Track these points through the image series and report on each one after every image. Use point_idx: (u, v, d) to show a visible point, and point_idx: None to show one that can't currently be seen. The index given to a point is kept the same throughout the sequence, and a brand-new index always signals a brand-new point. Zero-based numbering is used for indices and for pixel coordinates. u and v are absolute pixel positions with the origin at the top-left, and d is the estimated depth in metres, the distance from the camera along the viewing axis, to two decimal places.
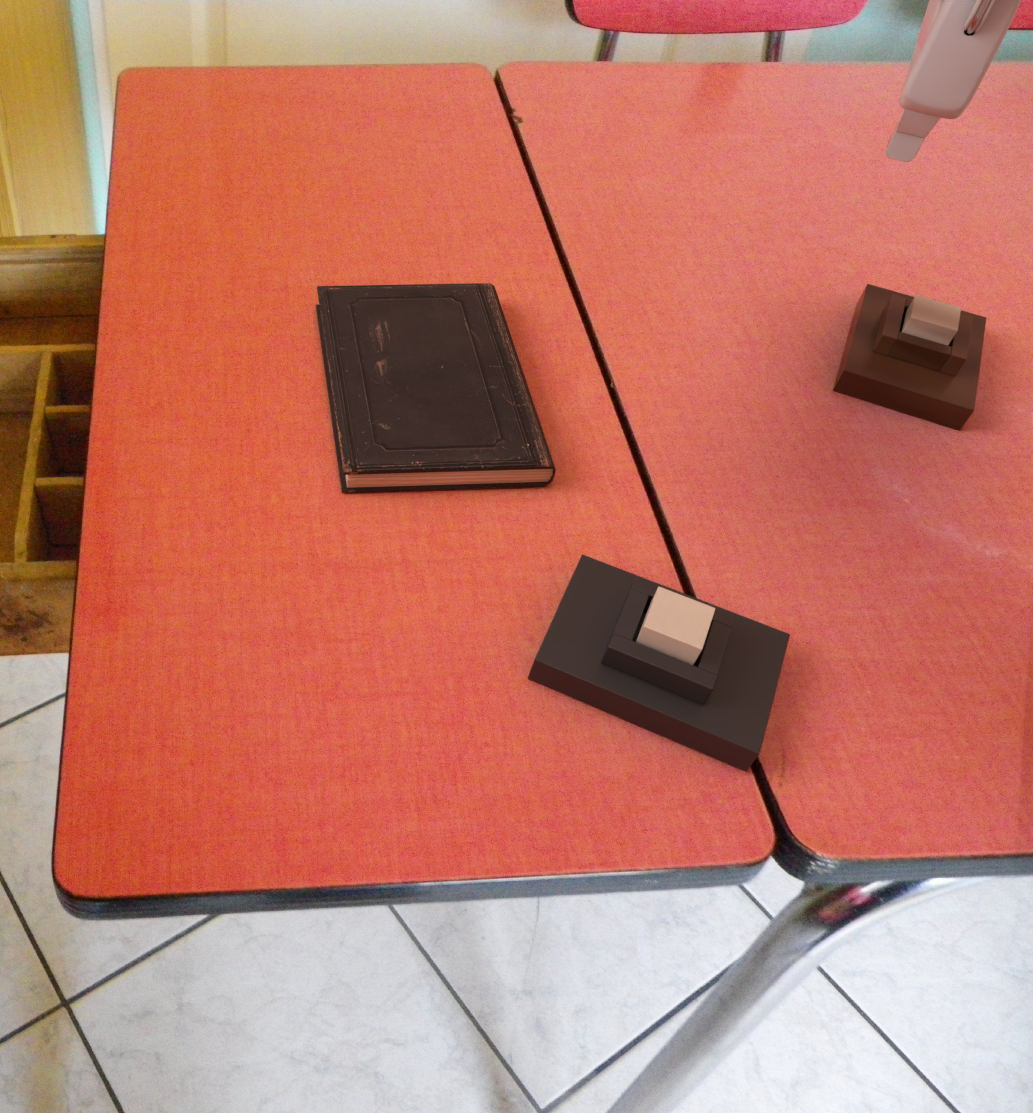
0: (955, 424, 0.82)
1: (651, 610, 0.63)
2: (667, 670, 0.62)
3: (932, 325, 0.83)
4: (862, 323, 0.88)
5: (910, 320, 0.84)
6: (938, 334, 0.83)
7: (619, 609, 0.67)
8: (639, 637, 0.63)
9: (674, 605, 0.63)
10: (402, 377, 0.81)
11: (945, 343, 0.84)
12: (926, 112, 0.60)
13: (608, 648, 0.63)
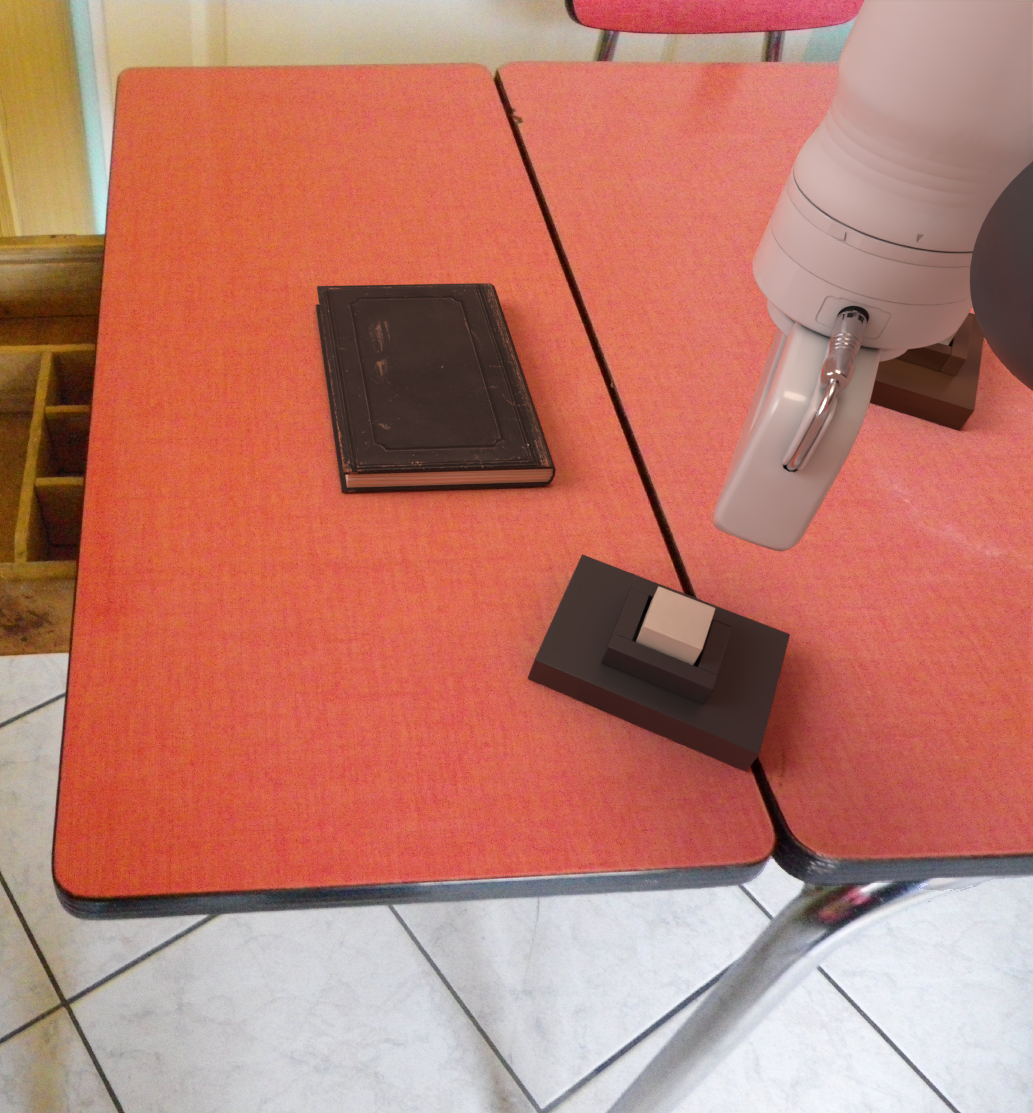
0: (955, 424, 0.82)
1: (651, 610, 0.63)
2: (667, 670, 0.62)
3: None
4: None
5: None
6: None
7: (619, 609, 0.67)
8: (639, 637, 0.63)
9: (674, 605, 0.63)
10: (402, 377, 0.81)
11: (945, 343, 0.84)
12: None
13: (608, 648, 0.63)
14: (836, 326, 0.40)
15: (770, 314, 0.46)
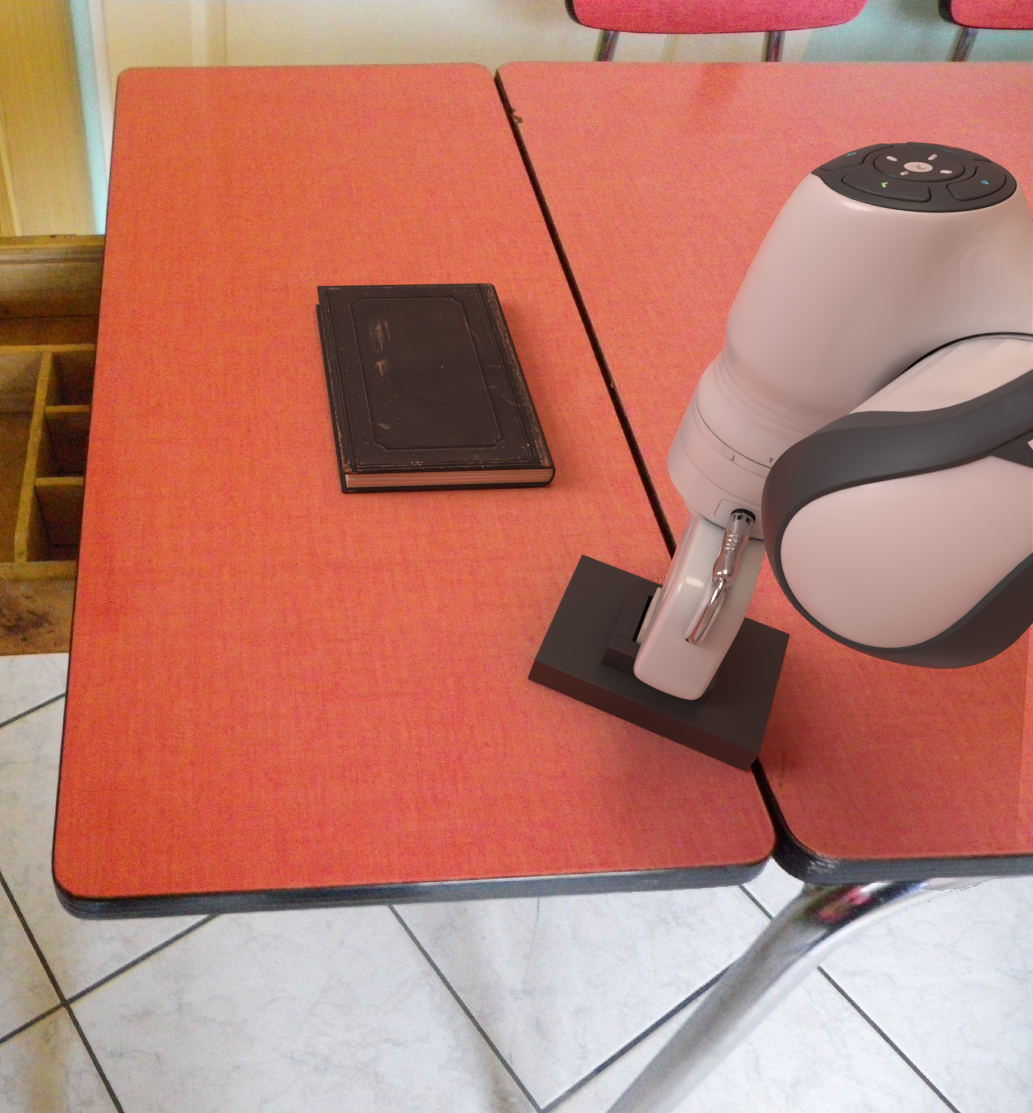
0: None
1: (651, 611, 0.63)
2: None
3: None
4: None
5: None
6: None
7: (619, 609, 0.67)
8: (639, 638, 0.63)
9: None
10: (402, 377, 0.81)
11: None
12: None
13: (608, 648, 0.63)
14: (728, 526, 0.49)
15: None
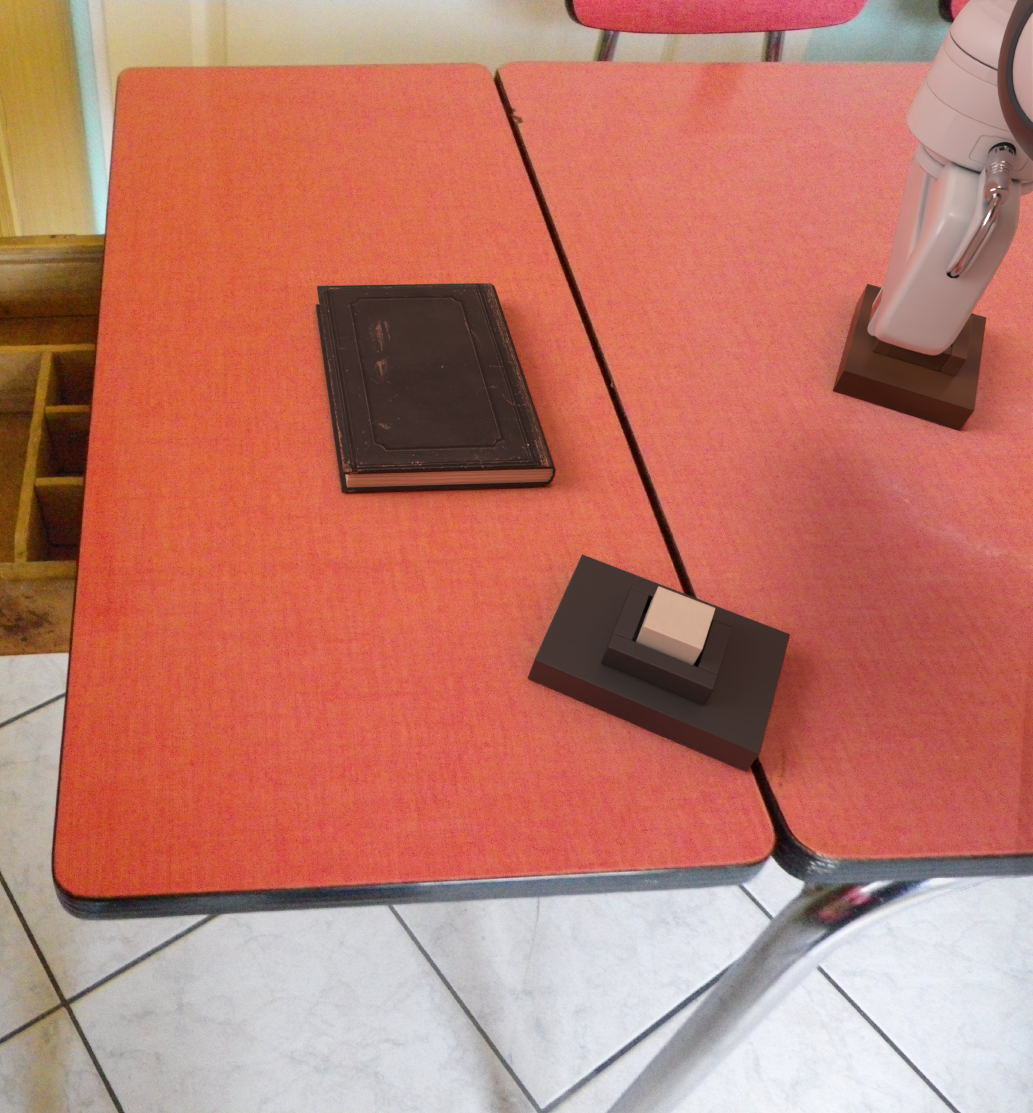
0: (955, 424, 0.82)
1: (651, 610, 0.63)
2: (667, 670, 0.62)
3: None
4: (862, 323, 0.88)
5: None
6: None
7: (619, 609, 0.67)
8: (639, 637, 0.63)
9: (674, 605, 0.63)
10: (402, 376, 0.81)
11: None
12: (905, 347, 0.54)
13: (608, 648, 0.63)
14: (991, 158, 0.50)
15: (920, 163, 0.55)
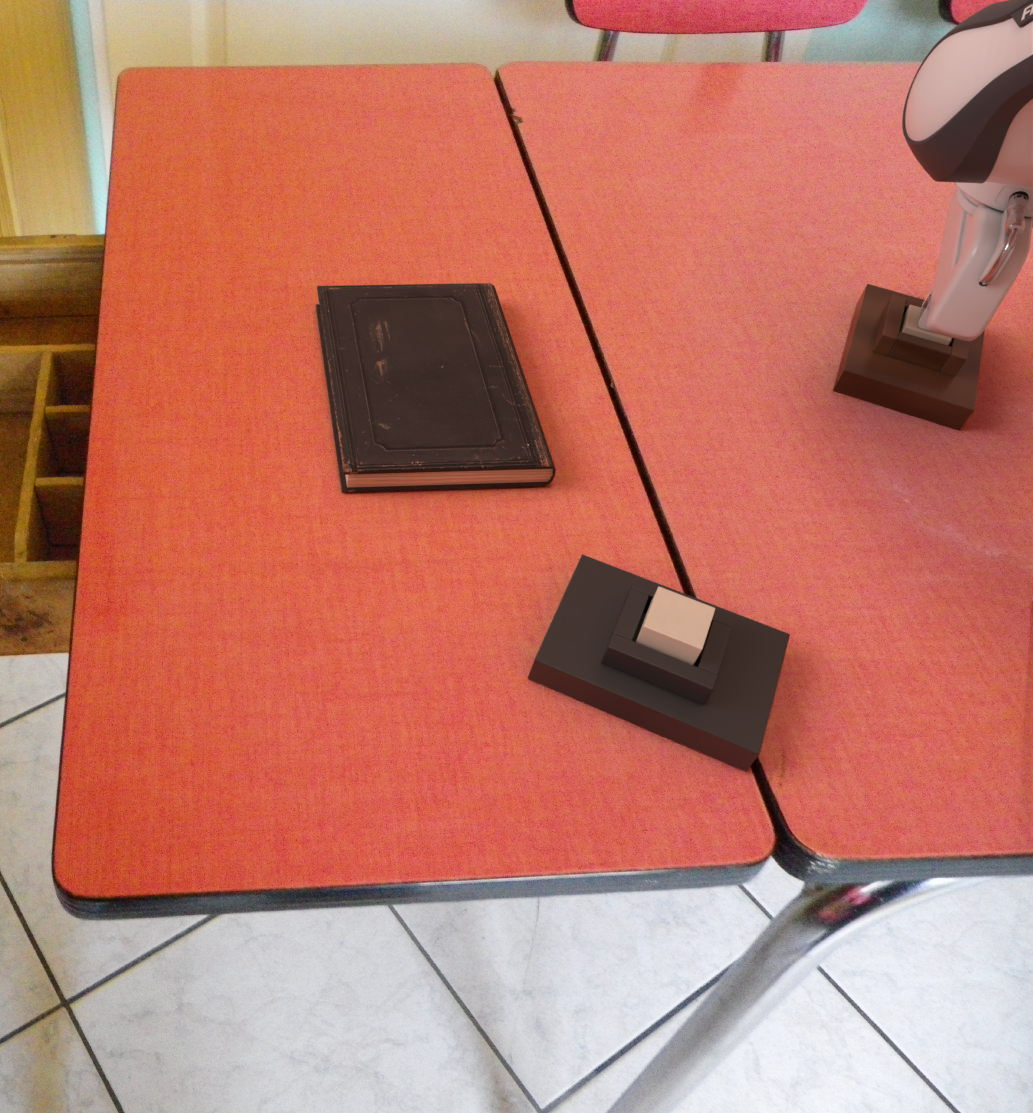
0: (955, 424, 0.82)
1: (651, 610, 0.63)
2: (667, 670, 0.62)
3: (926, 335, 0.84)
4: (862, 323, 0.88)
5: (904, 330, 0.84)
6: None
7: (619, 609, 0.67)
8: (639, 637, 0.63)
9: (674, 605, 0.63)
10: (402, 377, 0.81)
11: None
12: (948, 335, 0.75)
13: (608, 648, 0.63)
14: (1010, 202, 0.71)
15: (959, 203, 0.77)
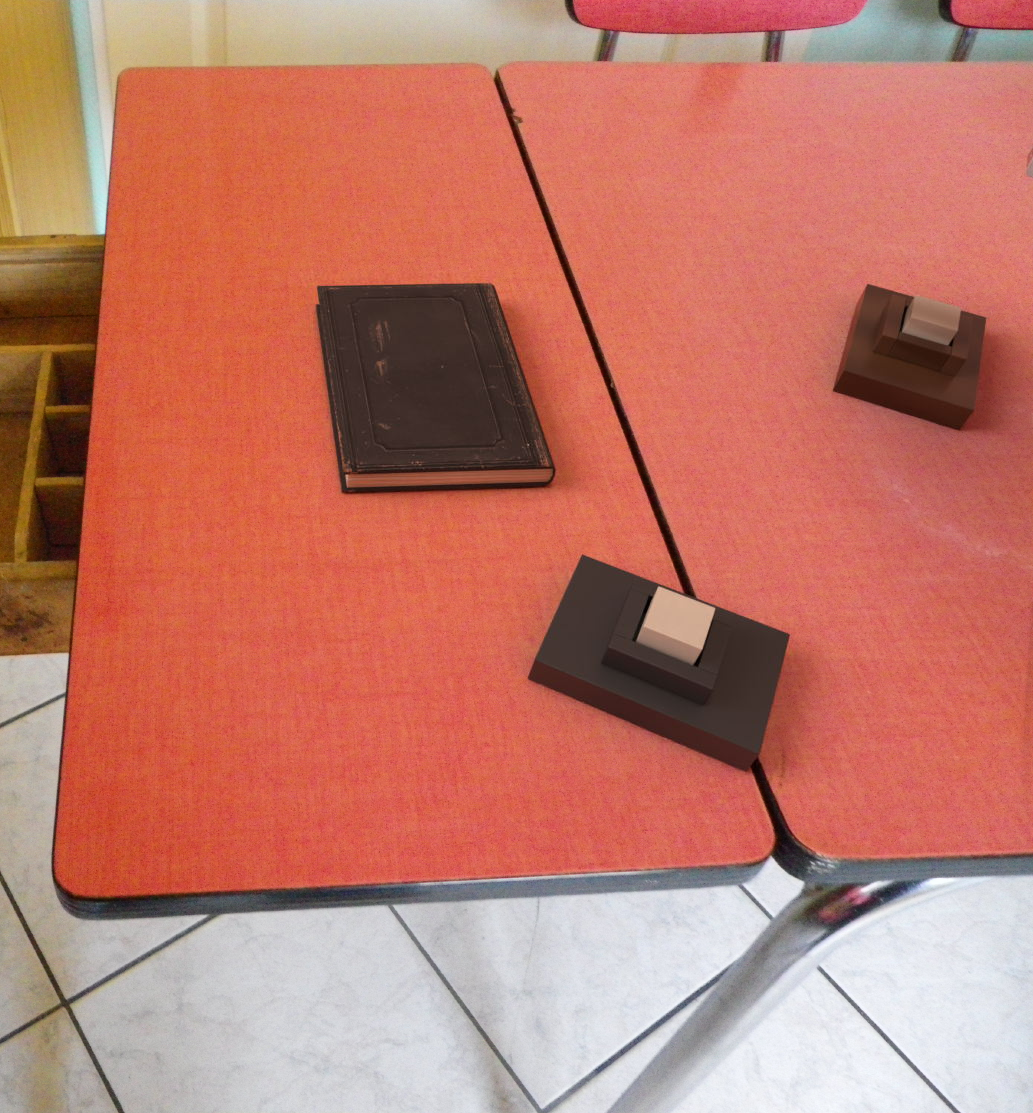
0: (955, 424, 0.82)
1: (651, 610, 0.63)
2: (667, 670, 0.62)
3: (932, 325, 0.83)
4: (862, 323, 0.88)
5: (910, 320, 0.84)
6: (938, 334, 0.83)
7: (619, 609, 0.67)
8: (639, 637, 0.63)
9: (674, 605, 0.63)
10: (402, 376, 0.81)
11: (945, 343, 0.84)
12: None
13: (608, 648, 0.63)
14: None
15: None
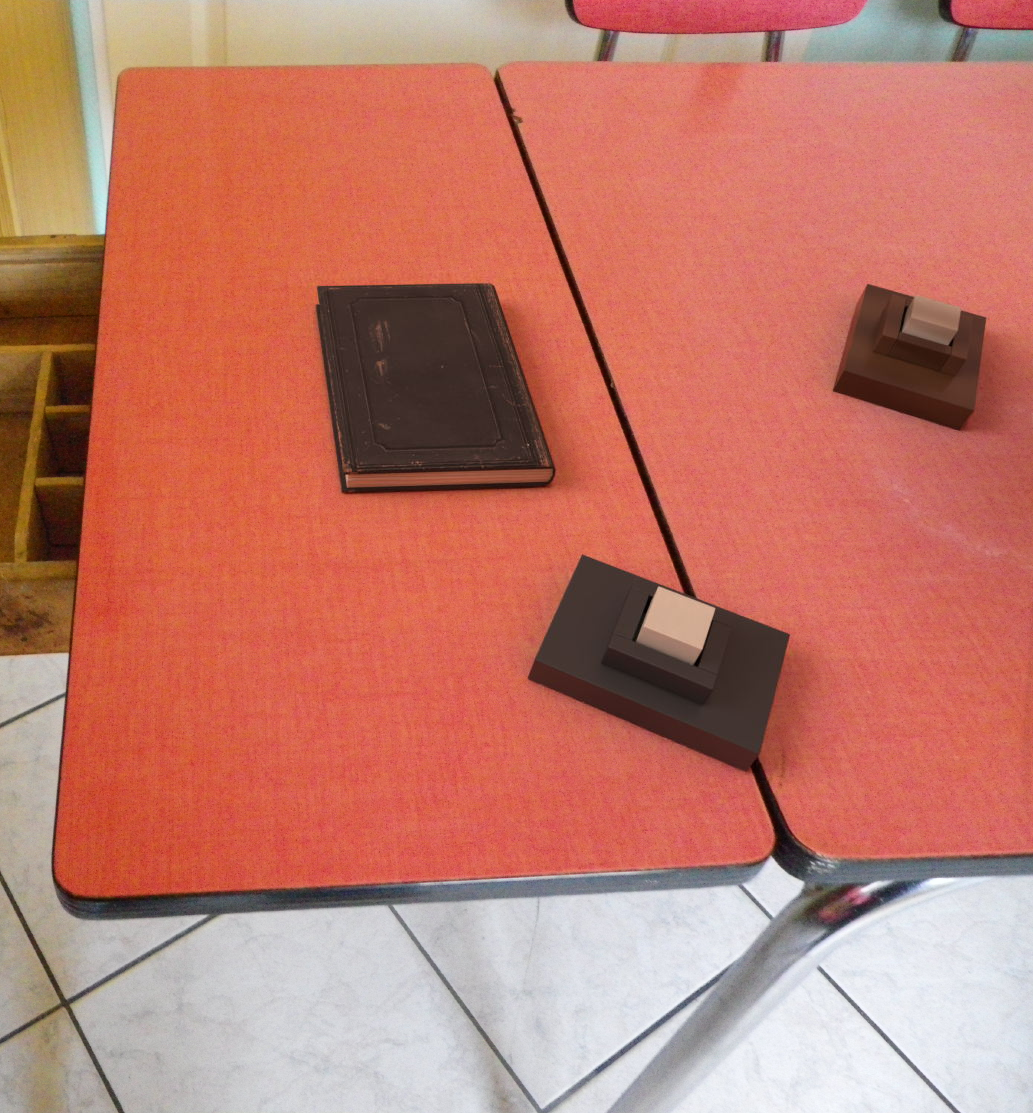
0: (955, 424, 0.82)
1: (651, 610, 0.63)
2: (667, 670, 0.62)
3: (932, 325, 0.83)
4: (862, 323, 0.88)
5: (910, 320, 0.84)
6: (938, 334, 0.83)
7: (619, 609, 0.67)
8: (639, 637, 0.63)
9: (674, 605, 0.63)
10: (402, 377, 0.81)
11: (945, 343, 0.84)
12: None
13: (608, 648, 0.63)
14: None
15: None
